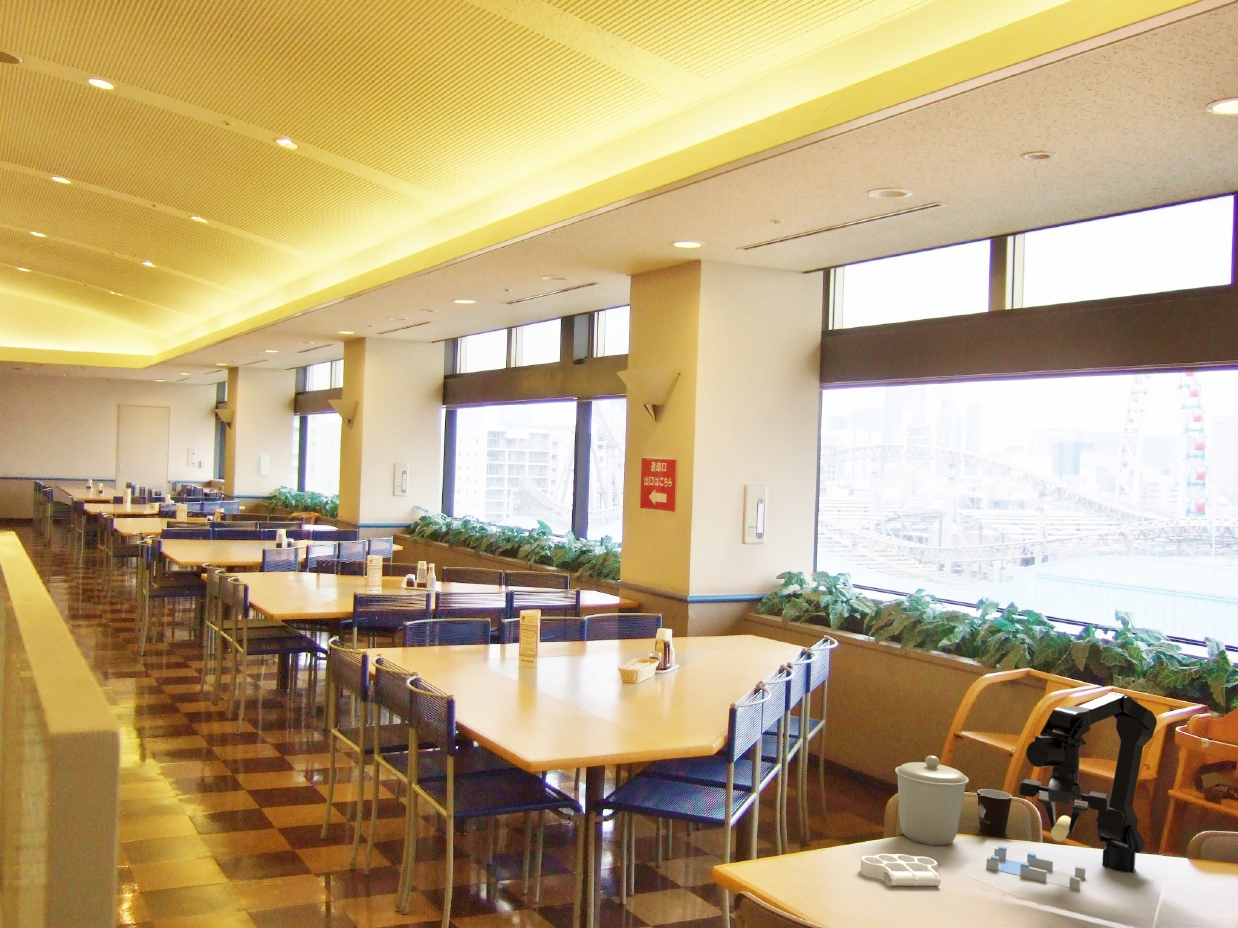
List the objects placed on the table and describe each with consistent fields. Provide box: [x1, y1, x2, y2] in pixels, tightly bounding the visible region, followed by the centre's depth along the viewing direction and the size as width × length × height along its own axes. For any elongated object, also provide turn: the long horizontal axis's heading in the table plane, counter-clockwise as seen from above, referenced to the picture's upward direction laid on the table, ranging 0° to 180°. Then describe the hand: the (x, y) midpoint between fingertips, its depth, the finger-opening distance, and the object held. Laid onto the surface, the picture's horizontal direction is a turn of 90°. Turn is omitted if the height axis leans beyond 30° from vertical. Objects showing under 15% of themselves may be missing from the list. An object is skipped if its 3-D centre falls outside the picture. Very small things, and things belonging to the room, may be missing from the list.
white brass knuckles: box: [860, 853, 942, 887], centre depth 236 cm, size 3×18×15 cm
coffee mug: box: [976, 788, 1013, 837], centre depth 276 cm, size 12×9×10 cm
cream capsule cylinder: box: [1050, 815, 1071, 842], centre depth 238 cm, size 13×3×3 cm, turn 149°
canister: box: [894, 755, 970, 846], centre depth 265 cm, size 18×18×21 cm
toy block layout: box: [985, 845, 1086, 891], centre depth 241 cm, size 20×10×4 cm, turn 59°
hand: (1061, 832), depth 239 cm, fingers closed on cream capsule cylinder, 3 cm apart
